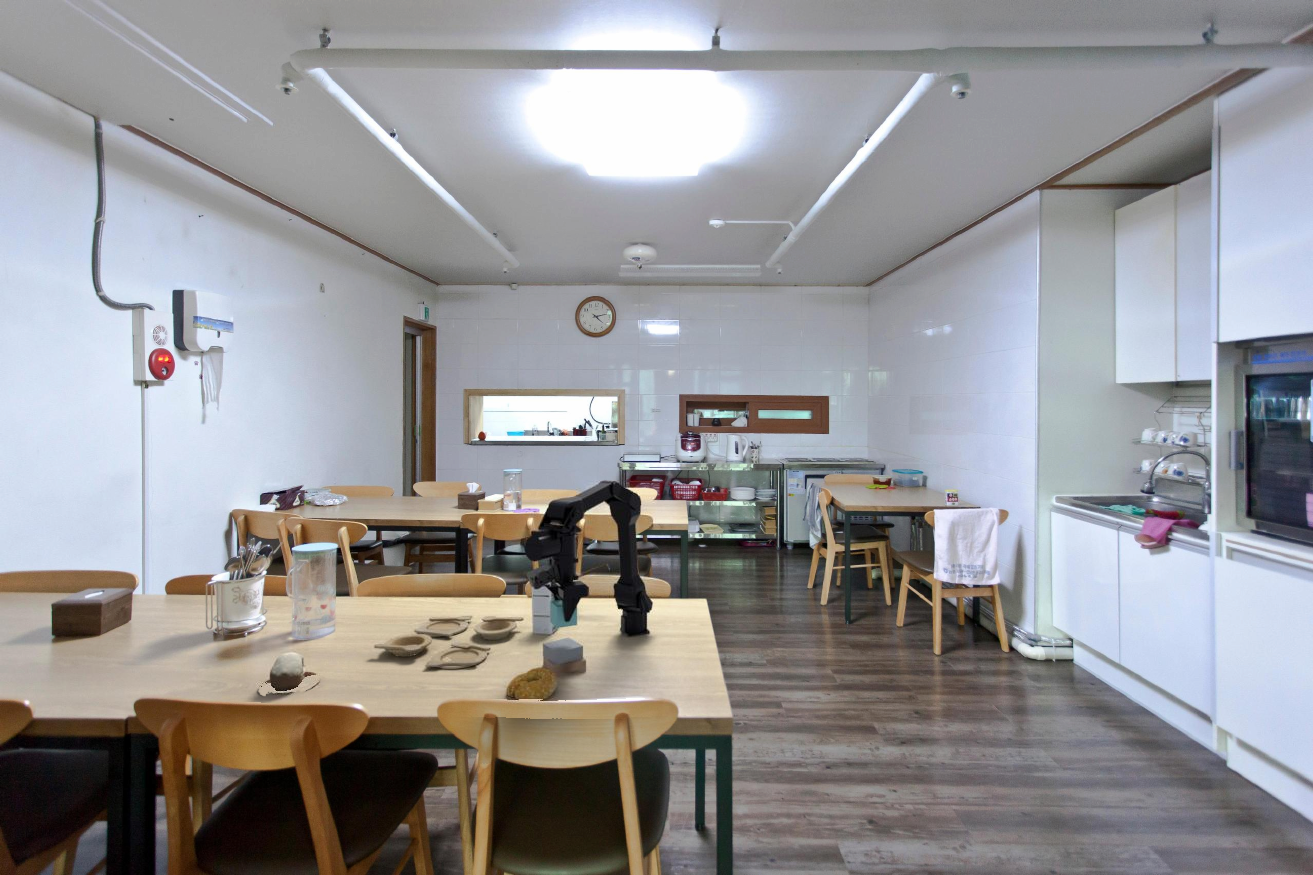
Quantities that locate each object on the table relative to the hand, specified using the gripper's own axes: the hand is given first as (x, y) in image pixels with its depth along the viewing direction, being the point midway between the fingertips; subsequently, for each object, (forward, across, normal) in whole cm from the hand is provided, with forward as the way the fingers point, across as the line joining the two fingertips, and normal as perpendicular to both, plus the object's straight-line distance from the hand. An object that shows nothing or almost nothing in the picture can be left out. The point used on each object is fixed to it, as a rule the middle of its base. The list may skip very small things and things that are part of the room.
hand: (563, 618), depth 150 cm
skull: (+13, -19, -58) cm, 62 cm away
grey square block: (+10, 0, 0) cm, 10 cm away
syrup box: (+12, -27, +4) cm, 30 cm away
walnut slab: (+12, 0, 0) cm, 13 cm away
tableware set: (+13, -29, -21) cm, 38 cm away
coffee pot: (+12, -39, +17) cm, 44 cm away
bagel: (+13, +10, -11) cm, 19 cm away
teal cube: (+1, 0, 0) cm, 1 cm away
